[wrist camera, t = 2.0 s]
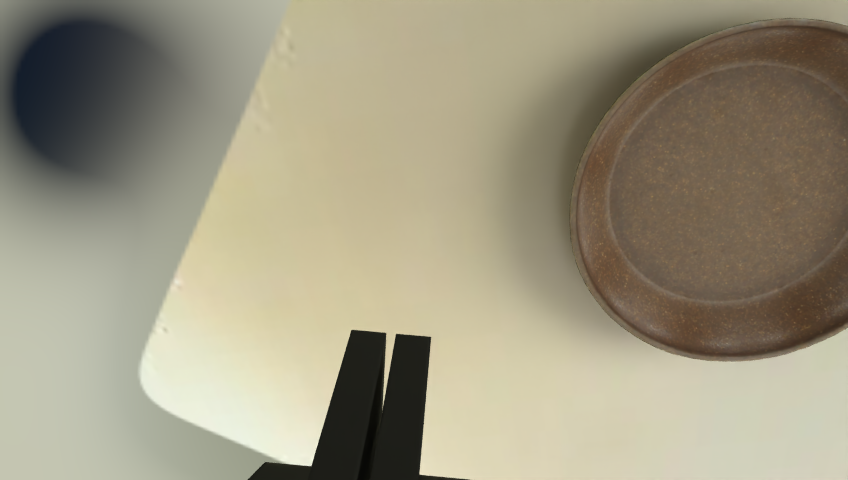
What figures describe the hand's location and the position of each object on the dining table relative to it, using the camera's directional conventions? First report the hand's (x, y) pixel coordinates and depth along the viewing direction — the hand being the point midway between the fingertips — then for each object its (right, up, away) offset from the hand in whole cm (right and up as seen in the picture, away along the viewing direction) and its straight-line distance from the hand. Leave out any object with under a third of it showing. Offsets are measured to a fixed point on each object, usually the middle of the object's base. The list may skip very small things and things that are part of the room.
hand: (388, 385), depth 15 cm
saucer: (+14, +6, +15) cm, 21 cm away
